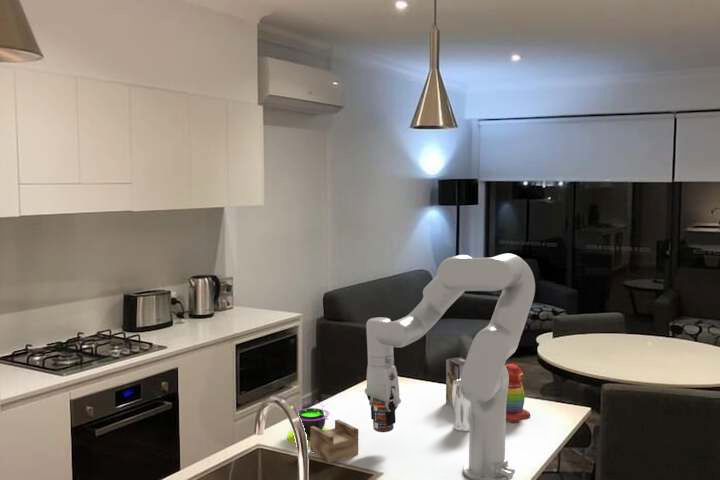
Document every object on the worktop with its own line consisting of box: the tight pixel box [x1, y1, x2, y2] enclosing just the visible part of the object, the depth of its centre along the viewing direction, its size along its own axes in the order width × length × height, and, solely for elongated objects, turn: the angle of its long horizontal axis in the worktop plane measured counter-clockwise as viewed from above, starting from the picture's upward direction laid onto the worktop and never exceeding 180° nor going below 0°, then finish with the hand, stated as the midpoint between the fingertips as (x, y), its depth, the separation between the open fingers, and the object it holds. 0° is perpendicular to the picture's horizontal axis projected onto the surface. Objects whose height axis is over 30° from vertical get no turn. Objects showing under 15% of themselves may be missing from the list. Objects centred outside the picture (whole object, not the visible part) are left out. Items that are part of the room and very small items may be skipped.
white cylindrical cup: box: [452, 380, 470, 432], centre depth 212 cm, size 7×7×15 cm
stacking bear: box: [505, 362, 531, 424], centre depth 223 cm, size 11×10×18 cm
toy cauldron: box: [286, 399, 331, 445], centre depth 205 cm, size 15×15×11 cm
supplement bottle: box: [372, 398, 394, 433], centre depth 194 cm, size 6×6×11 cm
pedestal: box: [309, 419, 359, 463], centre depth 192 cm, size 10×10×7 cm
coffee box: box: [445, 356, 466, 407], centre depth 233 cm, size 9×6×16 cm
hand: (383, 420), depth 194 cm, fingers closed on supplement bottle, 6 cm apart
